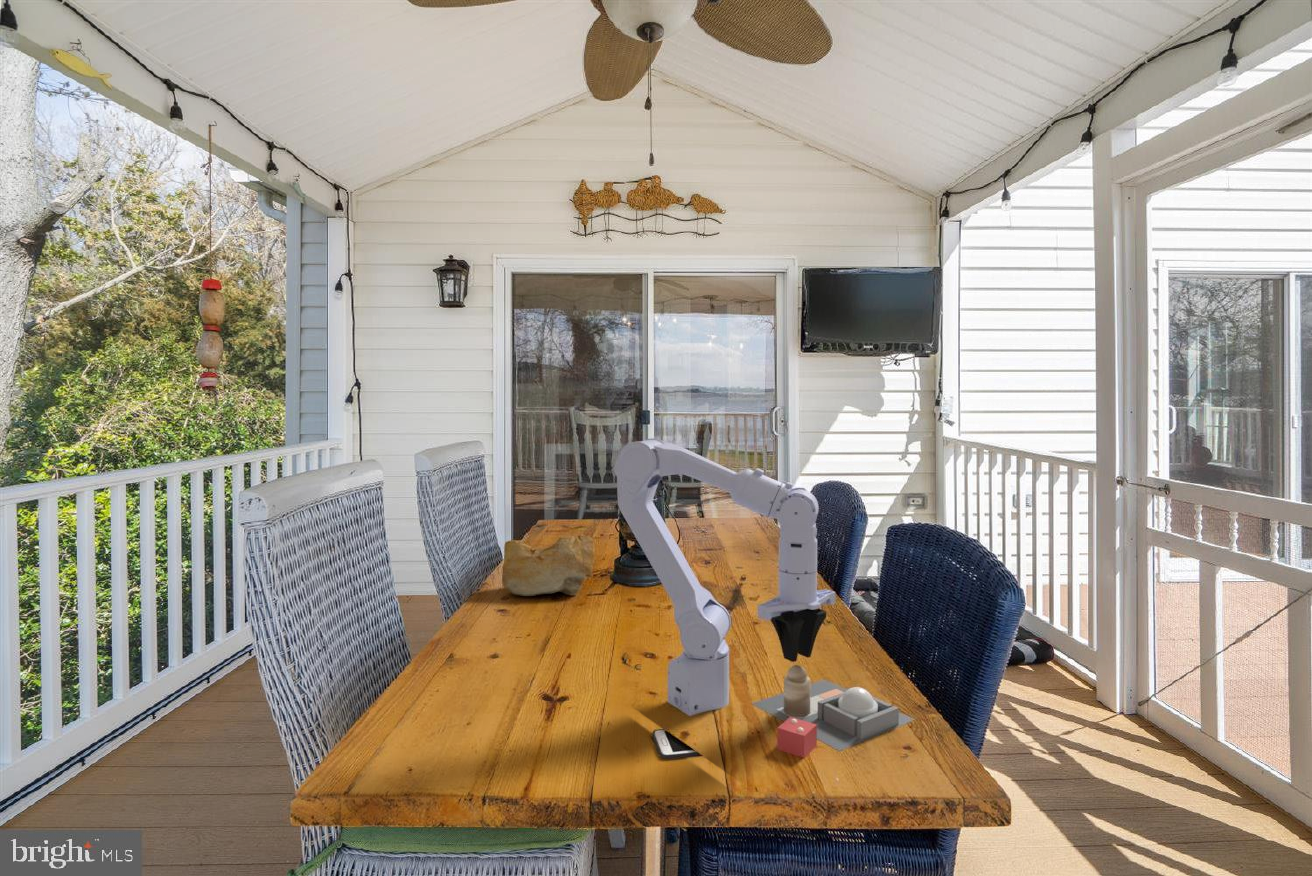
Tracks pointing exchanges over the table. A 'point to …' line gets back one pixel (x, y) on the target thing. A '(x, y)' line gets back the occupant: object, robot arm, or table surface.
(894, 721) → the game board
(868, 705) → the dome
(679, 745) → the cell phone
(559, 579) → the rough brown rock
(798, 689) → the pawn
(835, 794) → the table surface
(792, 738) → the red die
